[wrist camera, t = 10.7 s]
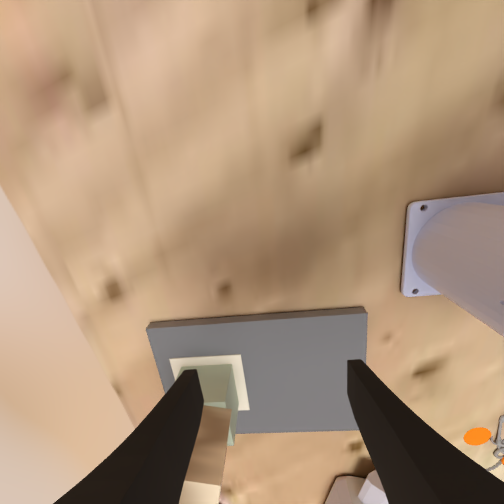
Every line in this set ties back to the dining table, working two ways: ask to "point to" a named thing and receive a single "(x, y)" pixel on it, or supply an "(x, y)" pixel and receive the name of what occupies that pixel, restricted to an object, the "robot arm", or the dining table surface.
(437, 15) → the dining table surface
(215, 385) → the sage base block
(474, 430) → the key chain
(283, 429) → the board
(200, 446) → the maple block
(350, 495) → the charger
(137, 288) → the dining table surface
